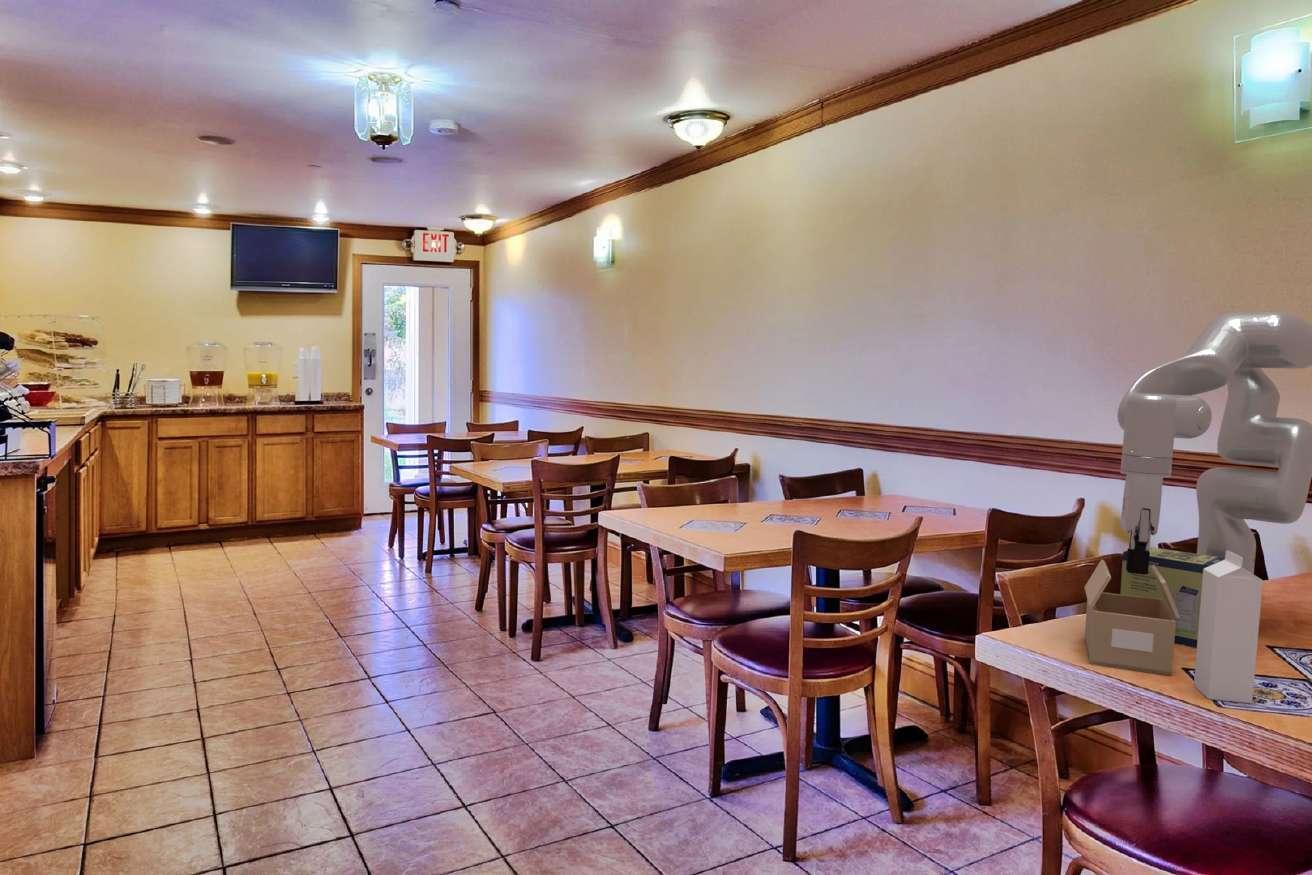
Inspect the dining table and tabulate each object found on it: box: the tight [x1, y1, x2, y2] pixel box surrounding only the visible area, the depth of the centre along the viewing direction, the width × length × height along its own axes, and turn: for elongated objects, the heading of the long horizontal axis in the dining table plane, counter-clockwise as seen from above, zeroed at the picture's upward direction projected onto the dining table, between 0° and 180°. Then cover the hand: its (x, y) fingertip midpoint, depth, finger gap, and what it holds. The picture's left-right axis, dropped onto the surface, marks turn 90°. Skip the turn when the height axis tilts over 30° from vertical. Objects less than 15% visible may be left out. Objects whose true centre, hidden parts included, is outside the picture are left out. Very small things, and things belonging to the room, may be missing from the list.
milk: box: [1193, 550, 1264, 704], centre depth 133 cm, size 6×6×22 cm
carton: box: [1084, 591, 1176, 677], centre depth 151 cm, size 16×12×9 cm
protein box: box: [1119, 546, 1225, 649], centre depth 165 cm, size 10×16×16 cm
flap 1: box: [1084, 559, 1112, 608], centre depth 152 cm, size 15×1×6 cm, turn 157°
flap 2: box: [1151, 565, 1180, 618], centre depth 148 cm, size 15×1×6 cm, turn 157°
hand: (1136, 572), depth 150 cm, fingers closed
